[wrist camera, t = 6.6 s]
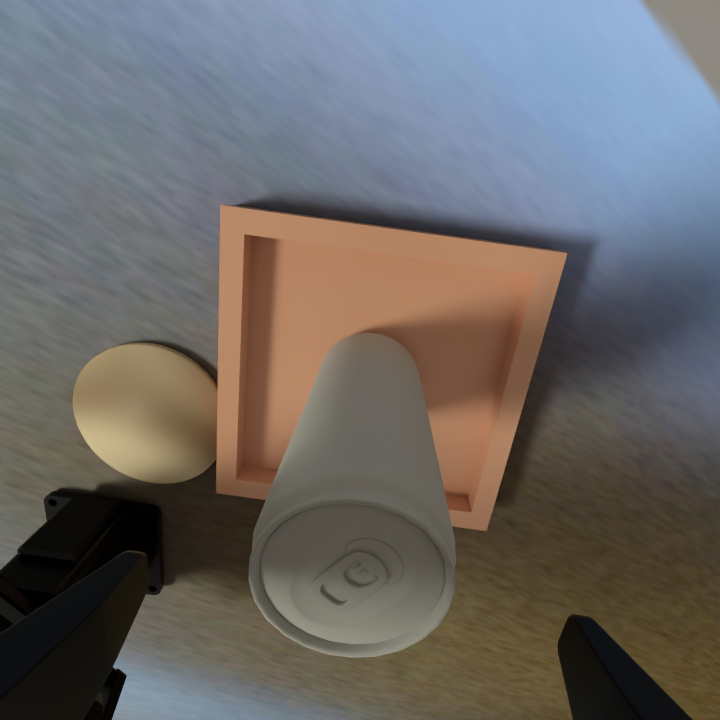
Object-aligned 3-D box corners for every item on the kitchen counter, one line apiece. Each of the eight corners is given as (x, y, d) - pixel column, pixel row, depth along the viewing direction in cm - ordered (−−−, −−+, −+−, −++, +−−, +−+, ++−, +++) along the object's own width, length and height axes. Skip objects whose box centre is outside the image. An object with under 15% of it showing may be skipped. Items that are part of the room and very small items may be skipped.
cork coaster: (227, 487, 24) (224, 492, 23) (86, 467, 24) (80, 472, 23) (231, 353, 21) (227, 357, 21) (71, 331, 21) (64, 334, 21)
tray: (479, 507, 24) (486, 531, 22) (228, 472, 24) (216, 492, 22) (551, 248, 19) (567, 253, 17) (235, 204, 19) (220, 204, 17)
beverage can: (439, 378, 20) (509, 591, 9) (368, 438, 22) (351, 691, 10) (368, 307, 19) (348, 449, 8) (298, 375, 21) (197, 578, 9)
